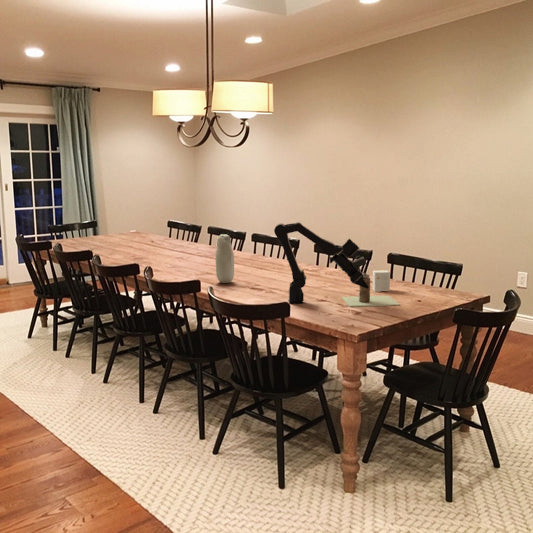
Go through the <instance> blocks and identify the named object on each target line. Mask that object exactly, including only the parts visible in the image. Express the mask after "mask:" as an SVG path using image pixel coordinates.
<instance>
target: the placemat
mask: <svg viewBox="0 0 533 533" xmlns="http://www.w3.org/2000/svg"><path fill="white" fill-rule="evenodd" d="M341 299H342V300H343V301H344V302H345V303H346V305H347V306H348V307H349V308H354V307H355V308H359V307H361V308H362V307H364V308H365V307H389V306H390V307H393V305H398V306H400V303H399V302H397V301H396V300H395V299H394V298H393V297H391V296H390V295H370V302H369V303H361V302H359V296H341Z"/></svg>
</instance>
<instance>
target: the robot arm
mask: <svg viewBox="0 0 533 533" xmlns="http://www.w3.org/2000/svg"><path fill="white" fill-rule="evenodd" d="M296 232H298V233H299V234H300V235H302V236H304V237H305V238H306V239H308V240H310V241H311V242H312V243H314V244H315V245H317V247H318V248H320V250H321V251H322V252H323V253H324V254H325V255H326V256H329V257H328V259H329V264H332V263H333V262H334V263H335V264H336V265H337V266H338V267H339V268H340V269H341V271H342V272H344V273H345V274H346V275H347V276H348V278H349V280H350V283H352V284H354V285H357V286H359V287H360V286H362V287H364V288H367V289H368V288H369V287H368V285H367V284H366V282H365V281H364V279H363V274H364V273H363V272H362V270H361V268H360V267H362V266H365V265H367V263H368V262H367V261H366V259H365V257H364V256H360V255H357V256H356V257H355V259H354V260H352V259H349V258H348V257H352V256H353V255H354V254H356V252H358V251H359V250H360V247H359V246H358V245H357V243H355V242H354V241H353V240H352V239H351V238H348V239H347V240H346V241H345V243H343V244H342V245H337V244H335V243H333V242H332V241H330V240H327V239H324V238H323V237H320V236H319V235H318V234H316V233H315V232H313V231H312V230H310V228H308V227H307V226H305V225H303V224H302V223H301V222H300V221H299V222H295V223H286V224H284V223H278V224H276V225H275V227H274V235H275V237H276V238H277V240H278V241H279V243H280V244H281V245H282V246H281V247H282V248H283V251H284V255H285V257H286V260H287V261H288V265H289V267H290V270H291V276H292V280H293V281H291V283H289V289H288V303H289V305H293V304H292V303H296V304H304V301H305V300H304V297H305V296H304V295H305V294H304V292H303V289H302V288H304V287H305V286H306V283H307V282H306V281H307V276H306V274H305V271H304V269H300V267H299V264H298V262H297V259H296V257H295V254H294V251H293V248H292V245H291V242H290V240H289V234H291V233H296Z"/></svg>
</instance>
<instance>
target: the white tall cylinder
mask: <svg viewBox="0 0 533 533" xmlns="http://www.w3.org/2000/svg"><path fill="white" fill-rule="evenodd" d="M216 242H217V245H216V246H217V247H216V252H215V257H214V258H215V274H216V276H215V277H216V278H217V280H218V282H219V283H221V284H229V283H231V282H232V281H233V280H234V277H235V252H234V250H233V247H232V240H231V236H230V235H228V234H225V233H221V234H220V235H218V237H217V241H216Z"/></svg>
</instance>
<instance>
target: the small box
mask: <svg viewBox="0 0 533 533" xmlns="http://www.w3.org/2000/svg"><path fill="white" fill-rule="evenodd" d="M390 278H391V272H390V270H387V269H385V270H372V291H373V290H374V291H375V292H374V291H373V292H374V293H381V292H380V291H389V292H390V290H391V288H390V287H391V286H390V285H391V283H390V282H391V279H390Z"/></svg>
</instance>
